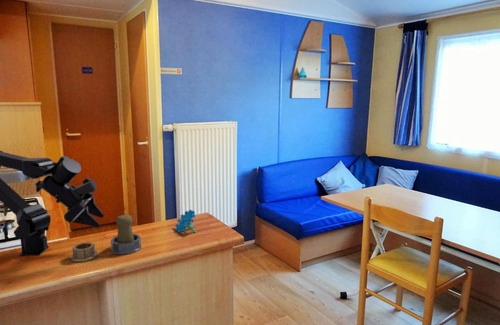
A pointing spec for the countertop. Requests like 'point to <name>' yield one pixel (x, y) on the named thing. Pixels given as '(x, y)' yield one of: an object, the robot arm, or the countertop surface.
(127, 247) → the fitting collar
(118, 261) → the countertop surface
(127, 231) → the cork
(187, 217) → the gear
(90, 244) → the small collar
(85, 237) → the countertop surface
